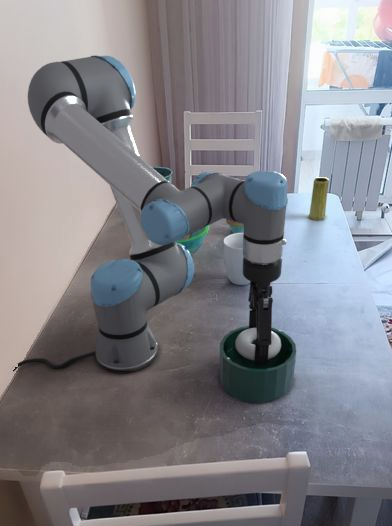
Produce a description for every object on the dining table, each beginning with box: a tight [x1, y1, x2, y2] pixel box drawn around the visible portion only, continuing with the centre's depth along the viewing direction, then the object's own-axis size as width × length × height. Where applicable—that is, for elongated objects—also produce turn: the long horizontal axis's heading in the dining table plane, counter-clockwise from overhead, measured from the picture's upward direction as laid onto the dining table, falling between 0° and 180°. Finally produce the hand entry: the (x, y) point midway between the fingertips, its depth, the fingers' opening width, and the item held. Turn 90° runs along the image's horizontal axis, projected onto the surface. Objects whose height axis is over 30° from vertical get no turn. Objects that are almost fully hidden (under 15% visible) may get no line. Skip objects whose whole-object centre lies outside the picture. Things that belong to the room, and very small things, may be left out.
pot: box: [219, 325, 297, 404], centre depth 109 cm, size 17×17×9 cm
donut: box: [235, 328, 281, 360], centre depth 105 cm, size 10×4×10 cm
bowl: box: [176, 225, 210, 256], centre depth 159 cm, size 22×22×10 cm
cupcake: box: [225, 219, 244, 234], centre depth 173 cm, size 9×8×12 cm
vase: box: [308, 177, 330, 221], centre depth 180 cm, size 6×6×14 cm
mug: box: [222, 233, 250, 286], centre depth 142 cm, size 15×11×13 cm
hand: (257, 349), depth 106 cm, fingers closed on donut, 10 cm apart
